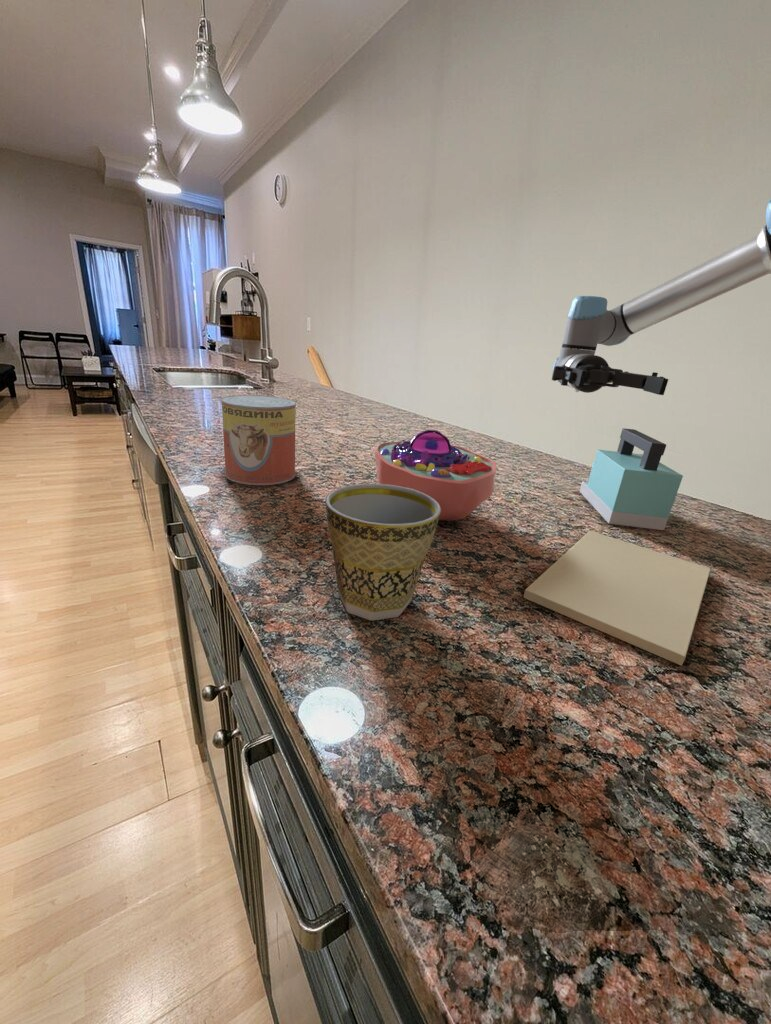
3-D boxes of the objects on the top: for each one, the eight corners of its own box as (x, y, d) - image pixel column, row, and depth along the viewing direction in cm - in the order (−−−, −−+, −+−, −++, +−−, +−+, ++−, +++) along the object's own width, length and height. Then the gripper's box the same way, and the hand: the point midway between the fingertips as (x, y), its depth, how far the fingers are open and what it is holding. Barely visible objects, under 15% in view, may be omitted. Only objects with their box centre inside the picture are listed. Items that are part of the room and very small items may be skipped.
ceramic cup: (402, 647, 36) (416, 536, 33) (300, 609, 40) (301, 505, 36) (449, 578, 47) (463, 489, 44) (366, 553, 51) (372, 469, 47)
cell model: (369, 538, 55) (376, 448, 51) (369, 485, 73) (374, 416, 69) (504, 546, 56) (522, 459, 52) (470, 493, 74) (482, 425, 70)
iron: (577, 489, 81) (595, 421, 77) (622, 494, 81) (643, 426, 76) (608, 523, 67) (632, 442, 62) (664, 530, 66) (692, 448, 61)
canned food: (213, 481, 69) (208, 402, 64) (238, 462, 79) (236, 392, 75) (286, 488, 69) (286, 409, 64) (301, 467, 79) (302, 399, 75)
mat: (587, 536, 61) (589, 530, 61) (708, 575, 53) (711, 568, 53) (523, 597, 45) (524, 589, 45) (681, 666, 37) (685, 656, 37)
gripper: (639, 396, 97) (690, 412, 77) (523, 384, 99) (544, 397, 79) (650, 360, 94) (706, 367, 75) (531, 349, 96) (554, 352, 76)
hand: (623, 382), depth 77 cm, fingers open, 13 cm apart
